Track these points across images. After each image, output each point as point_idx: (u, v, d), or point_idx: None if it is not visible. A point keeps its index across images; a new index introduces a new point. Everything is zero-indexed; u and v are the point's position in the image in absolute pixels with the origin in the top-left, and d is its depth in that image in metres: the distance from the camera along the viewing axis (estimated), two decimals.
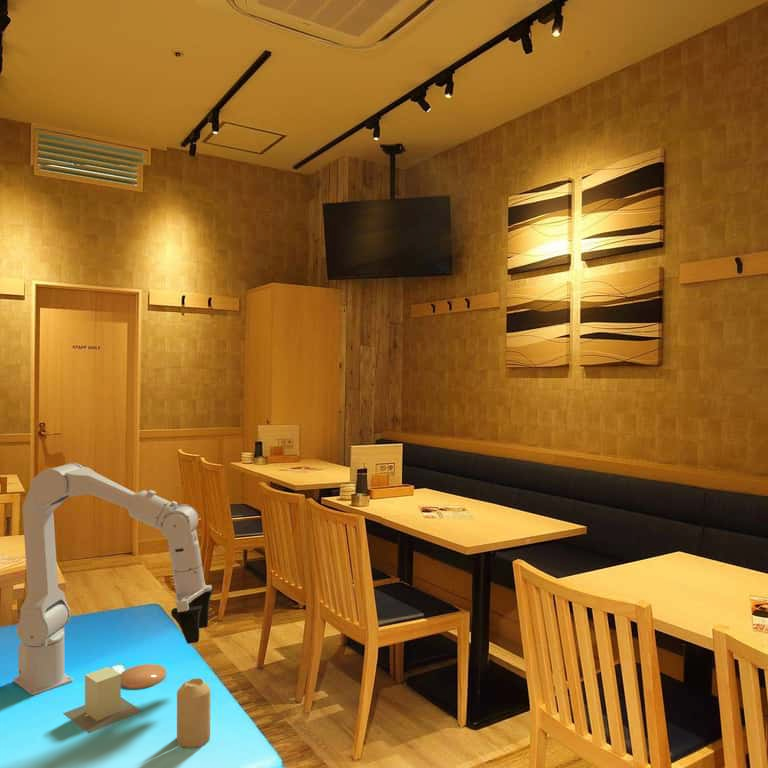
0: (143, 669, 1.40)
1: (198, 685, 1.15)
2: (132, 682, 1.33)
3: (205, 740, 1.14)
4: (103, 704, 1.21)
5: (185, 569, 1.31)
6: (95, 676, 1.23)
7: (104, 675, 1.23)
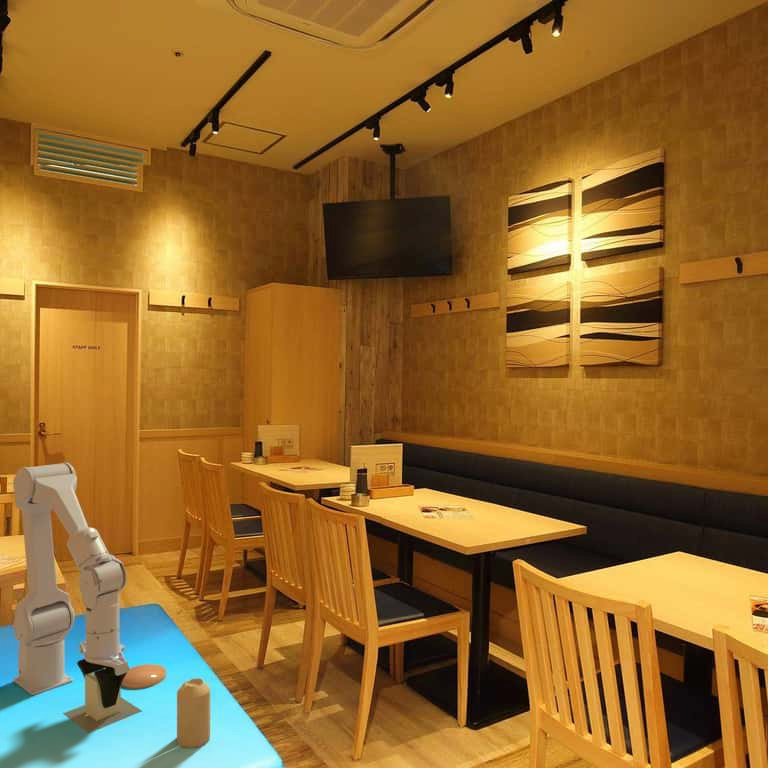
0: (143, 669, 1.40)
1: (198, 685, 1.15)
2: (132, 682, 1.33)
3: (205, 740, 1.14)
4: None
5: (90, 631, 1.21)
6: (95, 676, 1.23)
7: None
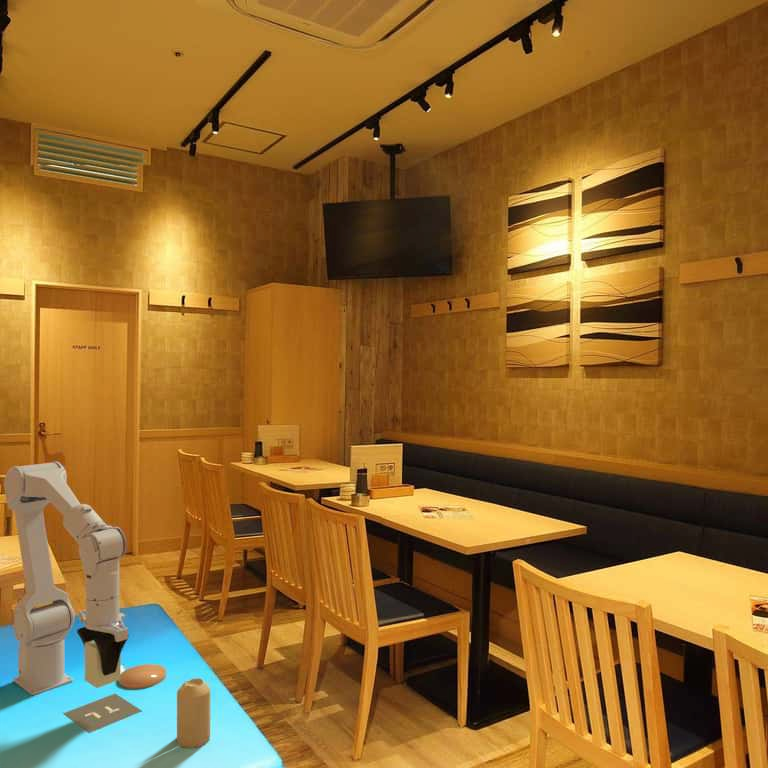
0: (143, 669, 1.40)
1: (198, 685, 1.15)
2: (132, 682, 1.33)
3: (205, 740, 1.14)
4: None
5: (90, 598, 1.21)
6: (95, 644, 1.22)
7: None
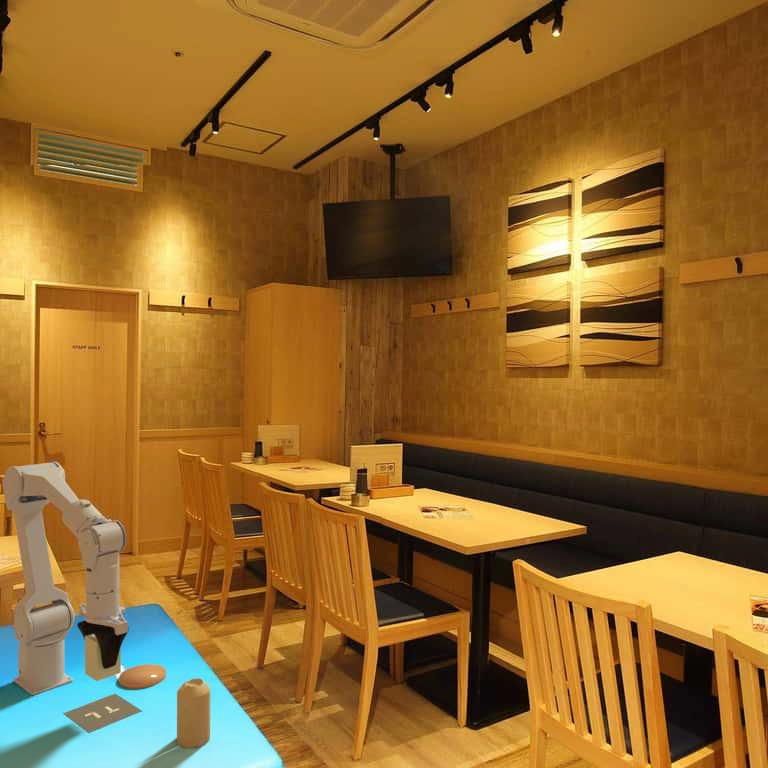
0: (143, 669, 1.40)
1: (198, 685, 1.15)
2: (132, 682, 1.33)
3: (205, 740, 1.14)
4: None
5: (90, 591, 1.21)
6: (95, 637, 1.22)
7: None
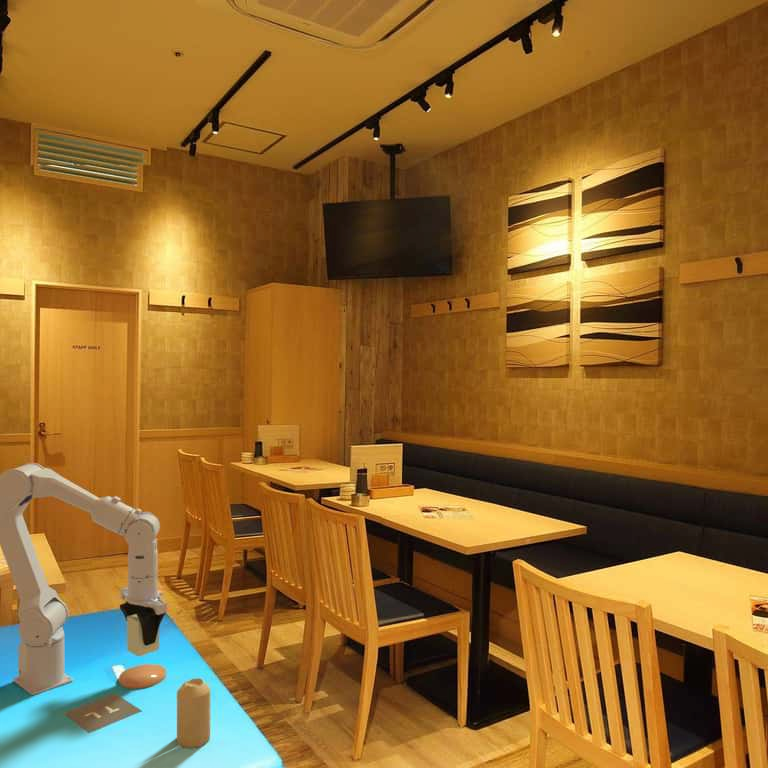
0: (143, 669, 1.40)
1: (198, 685, 1.15)
2: (132, 682, 1.33)
3: (205, 740, 1.14)
4: None
5: (142, 576, 1.34)
6: (137, 617, 1.36)
7: None
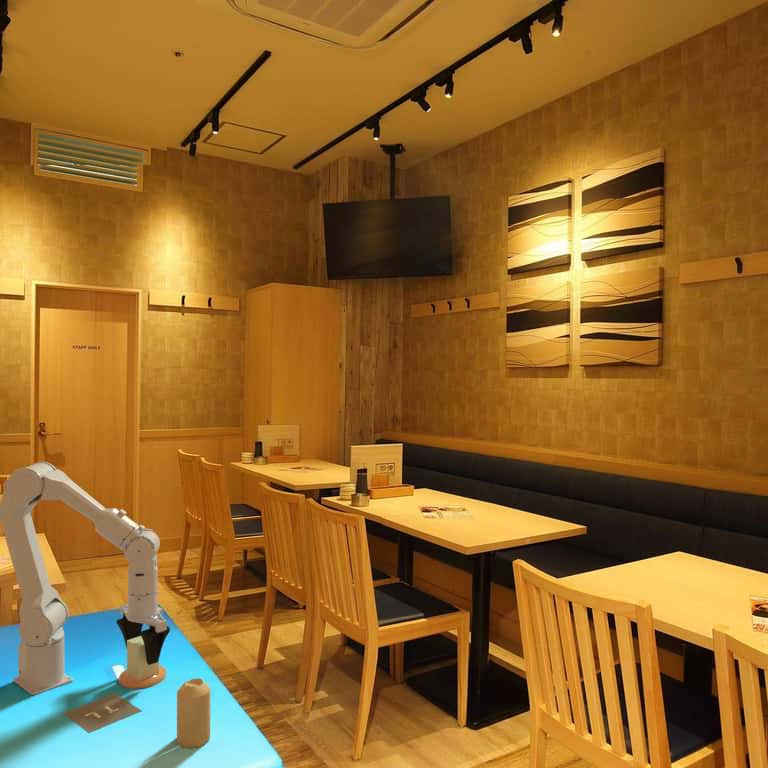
0: None
1: (198, 685, 1.15)
2: (132, 682, 1.33)
3: (205, 740, 1.14)
4: (144, 666, 1.35)
5: (142, 594, 1.34)
6: (137, 642, 1.36)
7: None
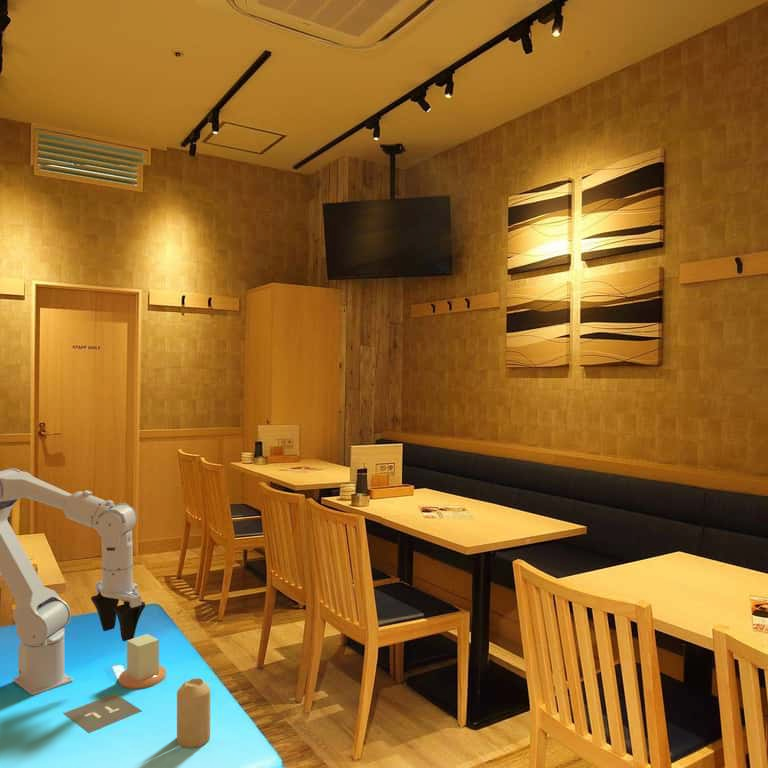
0: None
1: (198, 685, 1.15)
2: (132, 682, 1.33)
3: (205, 740, 1.14)
4: (144, 666, 1.35)
5: (114, 569, 1.31)
6: (136, 642, 1.36)
7: (144, 640, 1.37)
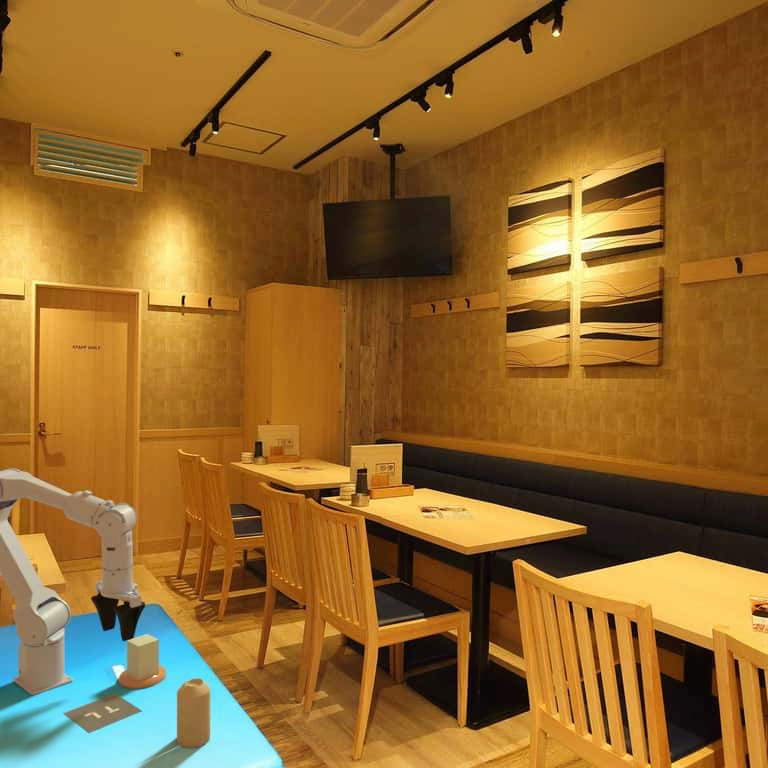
0: None
1: (198, 685, 1.15)
2: (132, 682, 1.33)
3: (205, 740, 1.14)
4: (144, 666, 1.35)
5: (114, 569, 1.31)
6: (137, 642, 1.36)
7: (144, 640, 1.37)
